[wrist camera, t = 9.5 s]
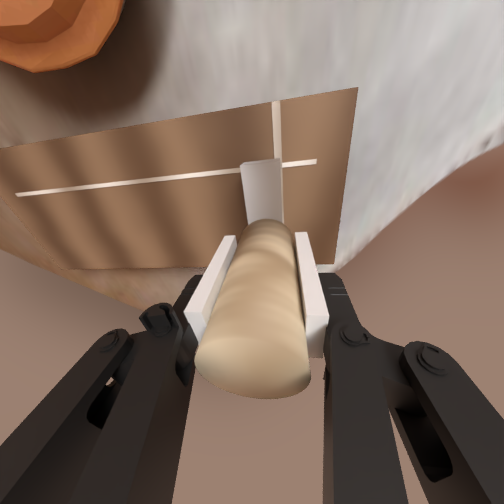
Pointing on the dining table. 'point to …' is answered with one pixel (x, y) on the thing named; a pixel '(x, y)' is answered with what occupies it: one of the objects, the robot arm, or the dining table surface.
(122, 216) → the board
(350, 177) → the dining table surface
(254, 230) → the wooden handled tool
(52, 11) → the pie
